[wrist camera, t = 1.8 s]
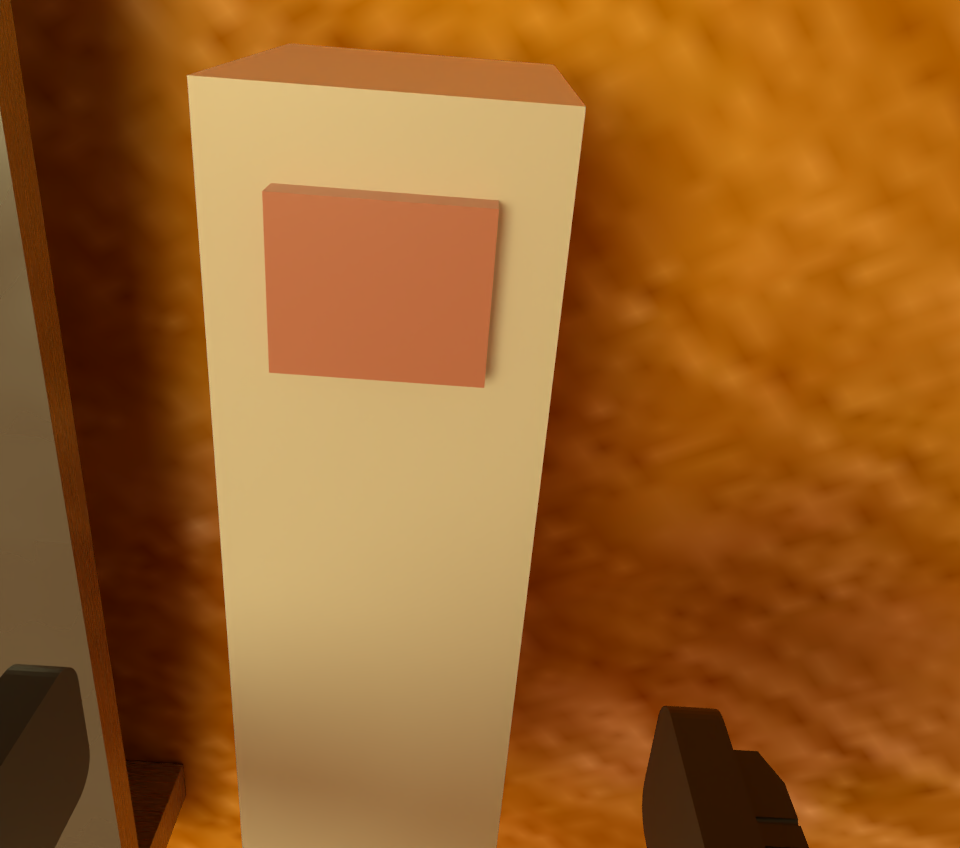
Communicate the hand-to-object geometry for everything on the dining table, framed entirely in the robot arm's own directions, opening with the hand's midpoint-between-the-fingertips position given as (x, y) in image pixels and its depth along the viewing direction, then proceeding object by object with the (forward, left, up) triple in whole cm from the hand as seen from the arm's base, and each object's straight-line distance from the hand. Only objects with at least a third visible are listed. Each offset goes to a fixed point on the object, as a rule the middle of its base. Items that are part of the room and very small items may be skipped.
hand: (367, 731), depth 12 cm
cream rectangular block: (0, 0, -8) cm, 8 cm away
